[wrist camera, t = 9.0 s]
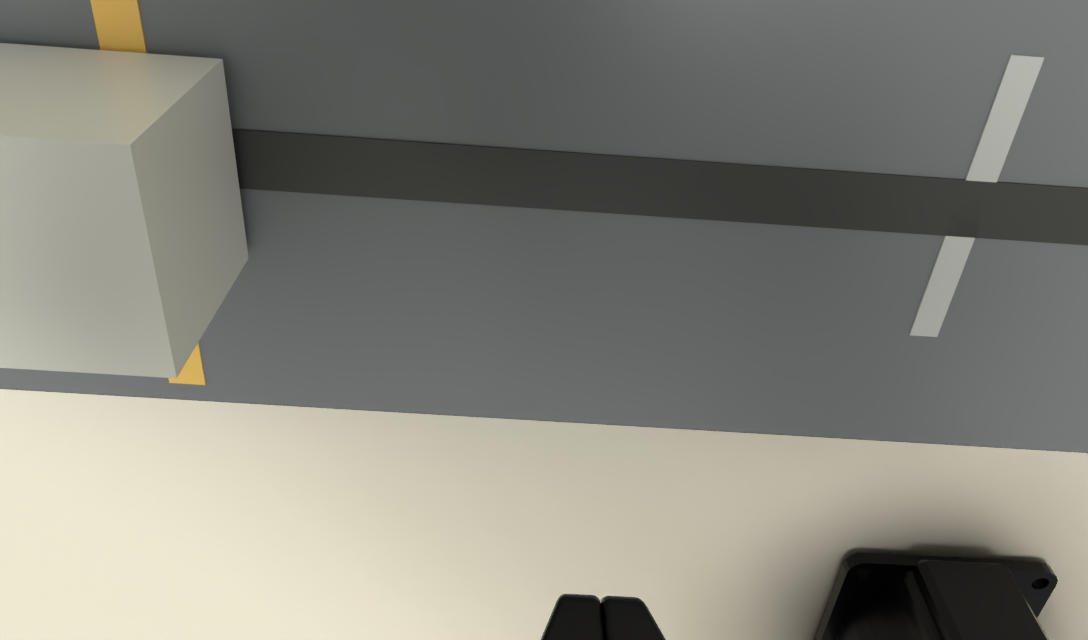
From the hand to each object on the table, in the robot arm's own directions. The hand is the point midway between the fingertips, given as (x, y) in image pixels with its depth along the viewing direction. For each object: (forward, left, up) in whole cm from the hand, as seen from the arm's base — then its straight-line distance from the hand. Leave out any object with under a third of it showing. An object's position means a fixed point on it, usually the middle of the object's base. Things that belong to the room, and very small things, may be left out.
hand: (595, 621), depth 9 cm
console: (+1, +1, -13) cm, 13 cm away
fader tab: (+1, +9, -10) cm, 13 cm away
